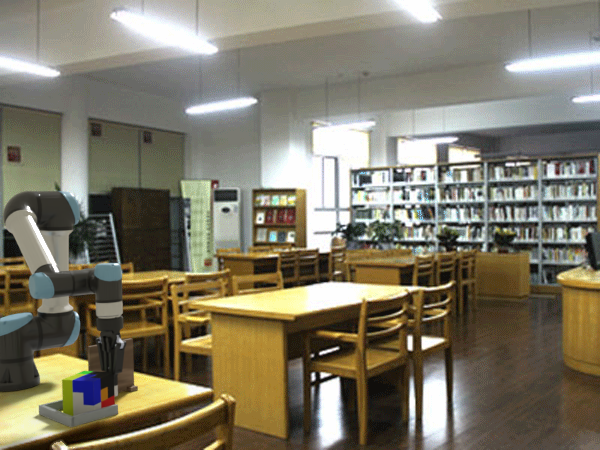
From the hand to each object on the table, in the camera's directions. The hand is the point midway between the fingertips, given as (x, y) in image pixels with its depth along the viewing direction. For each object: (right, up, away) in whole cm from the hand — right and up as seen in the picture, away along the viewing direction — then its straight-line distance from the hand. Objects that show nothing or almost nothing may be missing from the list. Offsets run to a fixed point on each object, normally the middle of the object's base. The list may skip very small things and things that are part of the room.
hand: (112, 396), depth 181 cm
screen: (-4, -2, +12) cm, 12 cm away
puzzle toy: (-5, -3, -5) cm, 8 cm away
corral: (-7, -3, -8) cm, 11 cm away
